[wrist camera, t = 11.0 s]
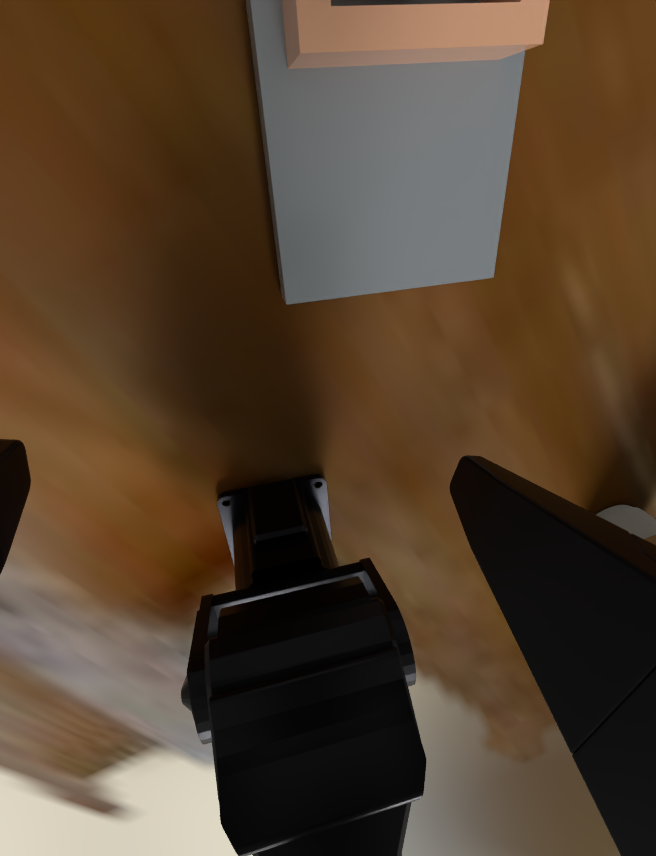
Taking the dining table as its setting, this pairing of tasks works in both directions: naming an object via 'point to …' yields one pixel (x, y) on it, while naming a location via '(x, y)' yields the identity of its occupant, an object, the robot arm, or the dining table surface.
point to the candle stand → (387, 137)
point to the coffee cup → (632, 521)
